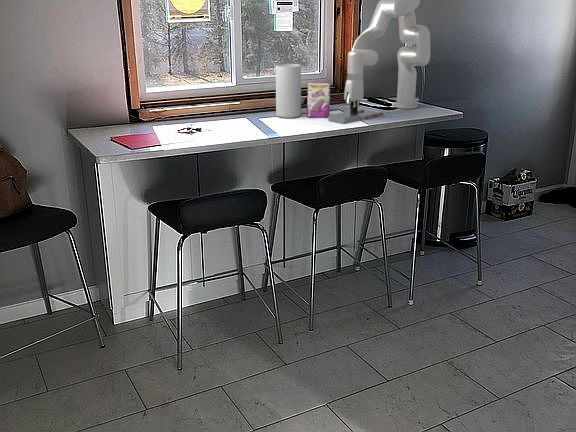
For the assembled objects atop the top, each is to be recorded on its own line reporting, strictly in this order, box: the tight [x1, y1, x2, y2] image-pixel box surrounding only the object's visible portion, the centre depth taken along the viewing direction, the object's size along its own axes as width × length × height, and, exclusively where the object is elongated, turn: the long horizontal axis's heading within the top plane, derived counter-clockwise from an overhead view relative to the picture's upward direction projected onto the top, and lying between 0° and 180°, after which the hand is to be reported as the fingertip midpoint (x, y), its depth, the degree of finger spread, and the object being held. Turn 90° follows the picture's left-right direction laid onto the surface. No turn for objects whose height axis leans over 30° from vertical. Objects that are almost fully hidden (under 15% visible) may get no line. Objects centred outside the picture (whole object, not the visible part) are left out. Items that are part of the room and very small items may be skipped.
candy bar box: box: [306, 82, 331, 119], centre depth 313 cm, size 11×5×16 cm, turn 84°
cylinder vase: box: [275, 63, 302, 119], centre depth 315 cm, size 12×12×25 cm
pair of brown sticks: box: [348, 109, 384, 120], centre depth 318 cm, size 14×13×2 cm
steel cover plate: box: [327, 111, 361, 125], centre depth 307 cm, size 12×10×3 cm
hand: (353, 114), depth 312 cm, fingers closed
